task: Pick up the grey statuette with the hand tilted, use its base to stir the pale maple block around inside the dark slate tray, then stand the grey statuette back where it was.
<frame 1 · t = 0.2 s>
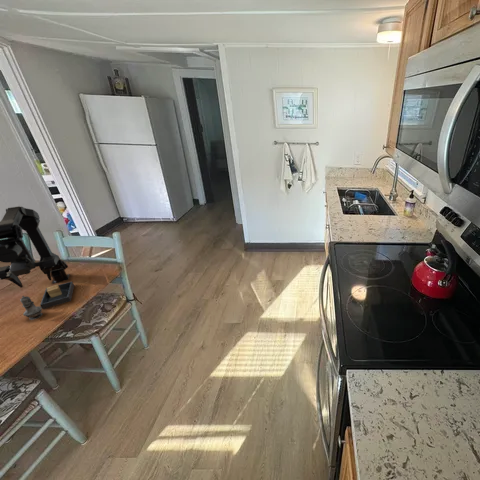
hand: (36, 283, 117), 15 cm above the table, tool pointing down, fingers open, 9 cm apart
grey statuette: (36, 317, 119), on the table
block: (56, 294, 132), resting on tray
tray: (59, 297, 131), on the table
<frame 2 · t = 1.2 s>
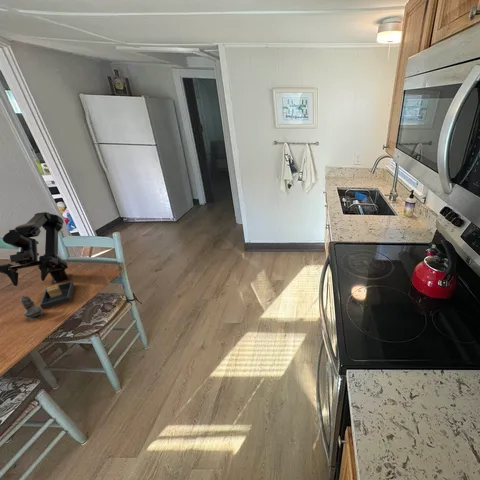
hand: (29, 283, 119), 13 cm above the table, tool tilted 45°, fingers open, 9 cm apart
nothing on the table moved.
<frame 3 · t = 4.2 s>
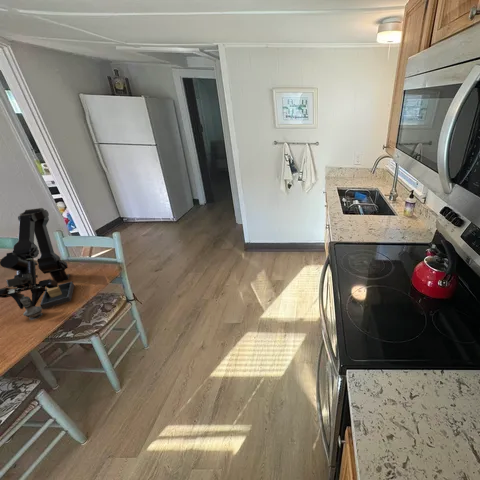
hand: (27, 307, 114), 7 cm above the table, tool tilted 45°, fingers closed on grey statuette, 3 cm apart
grey statuette: (36, 317, 119), on the table, touching gripper
everything else where it was.
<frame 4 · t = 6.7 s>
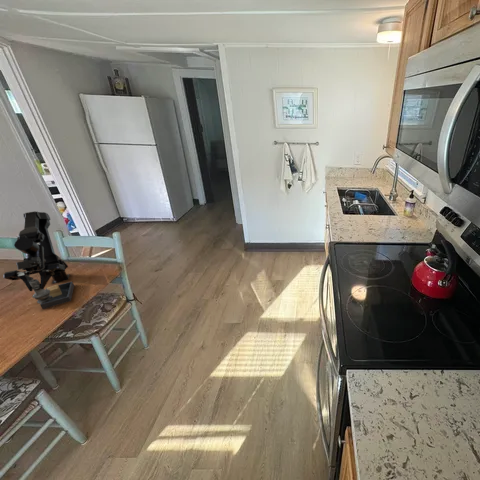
hand: (36, 290, 118), 11 cm above the table, tool tilted 45°, fingers closed on grey statuette, 3 cm apart
grey statuette: (45, 299, 122), point 4 cm above the table, touching gripper
everything else where it was.
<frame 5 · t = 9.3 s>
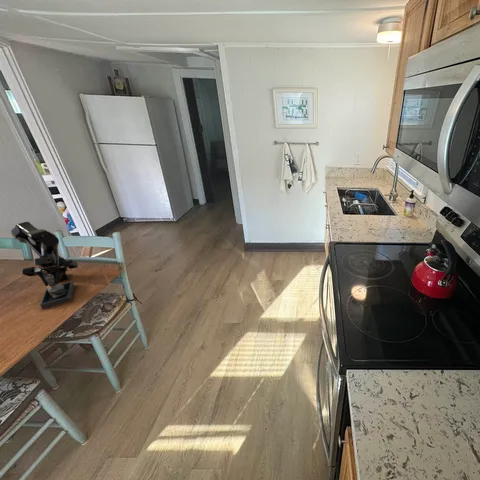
hand: (51, 284, 126), 8 cm above the table, tool tilted 45°, fingers closed on grey statuette, 3 cm apart
grey statuette: (59, 294, 130), point 1 cm above the table, touching block, gripper
block: (55, 292, 133), point 1 cm above the table, touching grey statuette, tray
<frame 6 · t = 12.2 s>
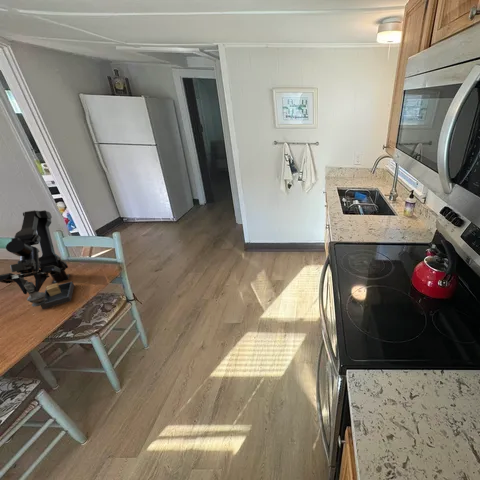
hand: (31, 292, 116), 11 cm above the table, tool tilted 45°, fingers closed on grey statuette, 3 cm apart
grey statuette: (40, 303, 120), point 5 cm above the table, touching gripper
block: (55, 292, 133), resting on tray
when the fingers open (7 cm above the table, at t = 14.4 s): grey statuette stays where it is, on the table.
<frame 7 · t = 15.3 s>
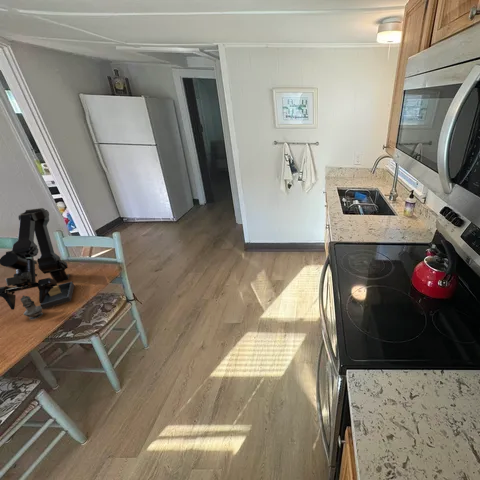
hand: (27, 306, 114), 7 cm above the table, tool tilted 45°, fingers open, 9 cm apart
grey statuette: (37, 316, 119), on the table
everything else where it was.
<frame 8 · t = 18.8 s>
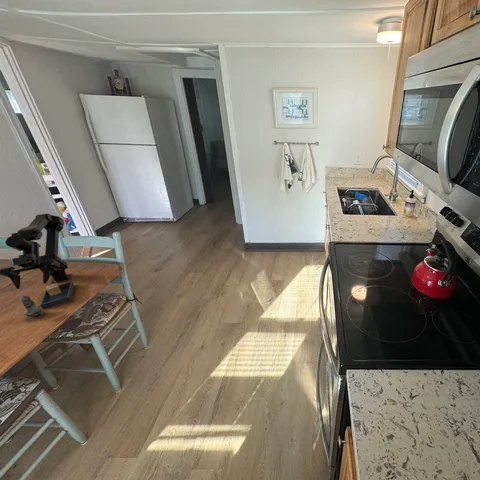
hand: (31, 286, 120), 12 cm above the table, tool tilted 45°, fingers open, 9 cm apart
nothing on the table moved.
at the end: block moved 1.8 cm from its start; block inside the target area in the tray (5.1 cm from its centre), point 0.5 cm above the tray's base; grey statuette tilted 0° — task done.
